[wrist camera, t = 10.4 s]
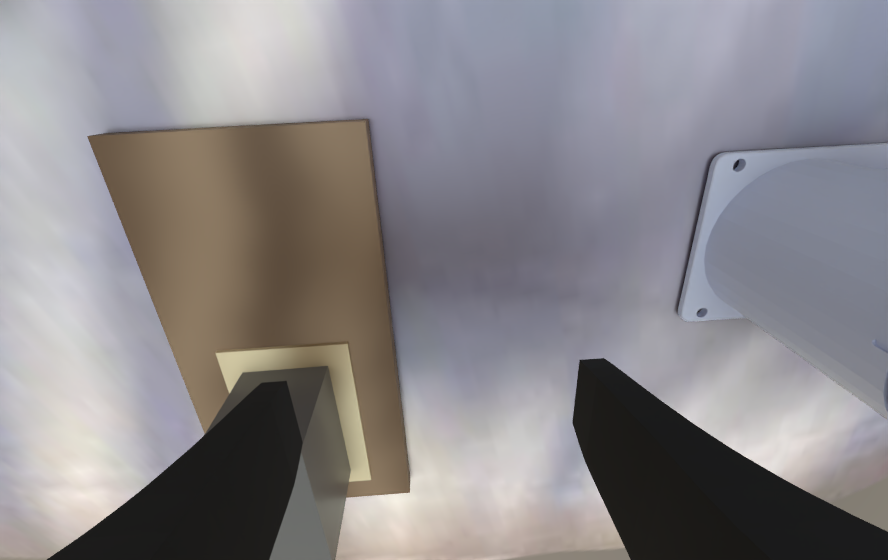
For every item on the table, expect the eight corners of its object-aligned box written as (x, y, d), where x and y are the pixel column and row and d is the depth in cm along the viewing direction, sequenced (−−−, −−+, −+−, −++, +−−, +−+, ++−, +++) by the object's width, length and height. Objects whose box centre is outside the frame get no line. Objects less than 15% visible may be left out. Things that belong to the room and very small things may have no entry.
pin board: (368, 118, 16) (357, 127, 13) (410, 477, 25) (409, 529, 22) (106, 133, 16) (37, 144, 13) (240, 490, 25) (216, 545, 22)
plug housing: (327, 365, 20) (300, 450, 15) (350, 470, 23) (333, 567, 18) (242, 372, 20) (189, 459, 15) (276, 476, 23) (241, 575, 18)
